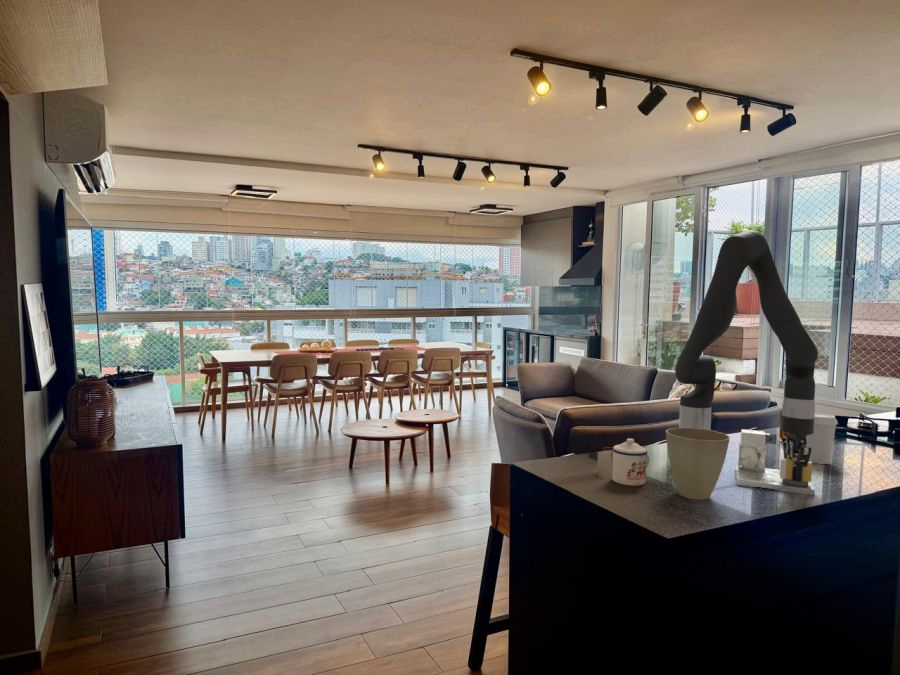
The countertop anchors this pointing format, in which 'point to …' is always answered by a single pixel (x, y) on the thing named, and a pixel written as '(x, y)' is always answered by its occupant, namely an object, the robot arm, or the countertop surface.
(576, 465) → the countertop surface
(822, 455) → the white tapered bin
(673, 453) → the plant pot
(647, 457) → the teacup with lid
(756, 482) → the base
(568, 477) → the countertop surface
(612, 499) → the countertop surface
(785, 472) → the white-tipped yellow pillar
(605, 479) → the countertop surface
